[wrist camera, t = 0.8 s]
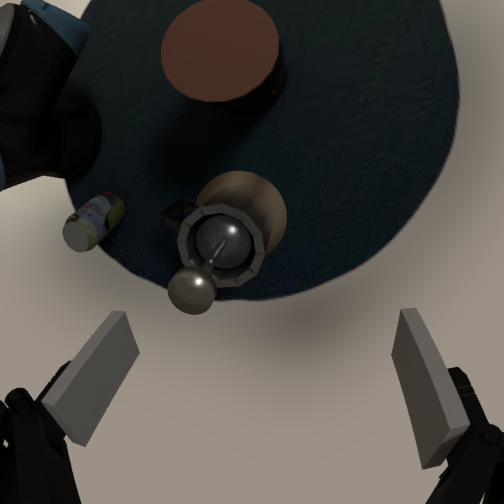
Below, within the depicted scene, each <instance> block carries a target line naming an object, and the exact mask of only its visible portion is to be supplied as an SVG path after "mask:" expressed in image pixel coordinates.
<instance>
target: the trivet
mask: <svg viewBox="0 0 504 504" xmlns="http://www.w3.org/2000/svg"><path fill="white" fill-rule="evenodd" d="M239 184H244V185H246V186H249V187H251V188H254V189H256V190H259V191H260V192H261V193H262V194H263V195H264V197H265V198H266V199H267V200H268V202H269V203H270V204H271V206H272V212H273V219H274V225H273V229H272V232H271V236H270V239H269V243H268V247H267V250H266V254H265V255H267V254H269V253H270V252H271V251H272V250H273V249H274V248H275V247H276V246H277V245H278V244H279V242H280V241H281V239H282V237H283V235H284V232H285V229H286V224H287V211H286V206H285V203H284V200H283V198H282V196H281V194H280V193H279V191H278V190H277V189H276V188H275V186H274V185H273V184H272V183H270V182H269V181H268V180H267V179H265V178H263V177H262V176H260V175H257V174H255V173H252V172H247V171H231V172H227V173H224V174H221V175H219V176H217V177H215V178H214V179H212V180H211V181H210V182H209V183H208V184H207V185H206V186H205V187H204V188H203V189H202V191H201V192H200V194H199V196H198V199H197V201H196V205H197V206H199V207H200V206H201V205H202V204H204V203H205V202H206V201H207V200H208V199H210V198H211V197H212V196H213V195H215V194H216V193H217V192H218V191H220V190H221V189H222V188H223V187H225V186H232V185H239Z"/></svg>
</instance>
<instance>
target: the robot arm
mask: <svg viewBox="0 0 504 504" xmlns="http://www.w3.org/2000/svg"><path fill="white" fill-rule="evenodd" d="M20 4H21V5H17V4H12V3H7V4H5V5H4V6H2V7H0V191H2V190H5V189H7V188H10V187H13V186H15V185H18V184H20V183H23V182H26V181H29V180H32V179H35V178H38V177H40V176H50V177H56V178H63V179H65V178H71V177H74V176H78V175H80V174H82V173H84V172H85V171H87V170H88V169H89V168H90V167H91V165H92V164H93V163H94V161H95V159H96V157H97V155H98V153H99V150H100V146H101V141H102V124H101V119H100V115H99V113H98V110H97V109H96V107H95V105H94V104H93V103H92V102H91V101H90V100H89V99H88V98H86V97H84V96H81V95H63V96H60V94H61V92H62V90H63V87H64V85H65V83H66V81H67V79H68V77H69V75H70V73H71V71H72V69H73V67H74V65H75V63H76V61H77V59H78V60H79V59H80V57H81V55H80V54H81V52H82V50H83V48H84V46H85V44H86V42H87V40H88V39H89V36H90V28H89V26H88V25H87V24H86V23H85V22H83V21H82V20H80V19H78V18H77V17H75V16H73V15H71V14H70V13H67V12H66V11H64V10H62V9H60V8H57V7H56V6H53V5H51V4H49V3H47V2H45V1H43V0H22V1H21V3H20ZM59 96H60V97H59ZM139 353H140V352H139V350H138V347H137V344H136V341H135V339H134V336H133V333H132V331H131V328H130V325H129V322H128V319H127V316H126V313H125V311H112V312H111V313H110V315H109V316H108V317H107V318H106V319H105V320H104V322H103V323H102V324H101V325H100V326H99V328H98V329H97V330H96V331H95V333H94V334H93V335H92V336H91V337H90V339H89V340H88V341H87V342H86V344H85V345H84V346H83V347H82V349H81V350H80V351H79V352H78V354H77V355H76V356H75V357H74V359H73V360H72V361H68V362H67V363H66V364H64V365H63V366H61V367H60V369H59V370H58V371H57V373H56V375H55V376H53V378H52V379H51V382H49V383H48V384H47V385H46V387H45V388H44V389H43V391H42V392H41V393H40V395H39V396H38V397H37V399H36V400H35V401H34V400H33V399H32V397H31V396H30V394H29V393H28V391H27V390H26V389H24V388H16V389H14V390H12V391H11V392H9V393H8V395H7V396H6V398H5V401H4V402H5V403H6V405H7V406H8V407H9V408H7V407H6V405H5V404H4V403H3V402H2V401H1V400H0V504H81V501H80V497H79V494H78V490H77V487H76V483H75V480H74V476H73V472H72V467H71V463H70V459H69V454H68V449H67V444H66V442H65V440H64V437H65V435H67V436H68V437H69V439H70V440H71V441H72V442H74V443H76V444H79V445H82V446H84V447H86V445H87V443H88V441H89V439H90V438H91V436H92V434H93V432H94V431H95V429H96V427H97V425H98V423H99V422H100V420H101V418H102V416H103V415H104V413H105V411H106V409H107V408H108V406H109V404H110V402H111V401H112V399H113V397H114V396H115V394H116V392H117V390H118V389H119V387H120V385H121V383H122V382H123V380H124V378H125V376H126V375H127V373H128V372H129V370H130V368H131V367H132V365H133V363H134V362H135V360H136V358H137V357H138V355H139ZM391 356H392V359H393V361H394V365H395V368H396V371H397V375H398V378H399V381H400V384H401V388H402V391H403V395H404V398H405V402H406V405H407V408H408V413H409V416H410V420H411V424H412V428H413V432H414V435H415V440H416V444H417V448H418V453H419V457H420V461H421V466H422V469H428V468H432V467H436V466H440V465H441V464H442V463H443V461H444V460H445V459H447V462H448V467H447V468H446V469H445V471H444V472H443V473H442V474H441V475H440V476H439V478H441V479H440V480H439V482H438V484H437V486H436V487H435V489H434V491H433V492H432V494H431V496H430V497H429V499H428V500H427V502H426V503H425V504H479V503H480V501H481V499H482V497H483V495H484V499H483V504H504V432H502V431H501V430H500V429H499V428H498V427H497V426H495V425H492V424H489V422H488V420H487V418H486V416H485V414H484V411H483V409H482V407H481V404H480V402H479V400H478V398H477V396H476V394H475V392H474V389H473V387H472V386H471V383H470V381H469V379H468V377H467V375H466V374H465V373H464V372H463V371H462V370H461V369H460V368H459V367H454V368H449V369H447V368H446V366H445V364H444V362H443V360H442V357H441V355H440V353H439V351H438V349H437V347H436V345H435V343H434V341H433V339H432V337H431V335H430V333H429V331H428V329H427V328H426V326H425V324H424V322H423V320H422V318H421V316H420V314H419V312H418V311H417V309H416V308H409V309H401V311H400V316H399V321H398V326H397V332H396V336H395V341H394V345H393V350H392V354H391ZM4 439H5V440H6V441H7V443H8V447H5V446H4V445H3V443H4ZM484 493H485V494H484Z"/></svg>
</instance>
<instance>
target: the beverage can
mask: <svg viewBox="0 0 504 504" xmlns="http://www.w3.org/2000/svg"><path fill="white" fill-rule="evenodd" d="M124 214H125V206H124V203H123V201H122V199H121V198H120V197H119V196H118V195H117V194H116V193H114V192H112V191H103V192H101V193H100V194H98V195H97V196H95V197H94V198H93V199H91V200H90V201H89V202H87V203H86V204H85V205H83V206H82V207H81V208H80V209H78V210H77V211H76V212H74V213H73V214H72V215H71V216H69V217H68V219H67V220H66V222H65V226H64V228H63V237H64V240H65V242H66V243H67V245H68V246H69V247H70V248H71V249H72V250H74V251H76V252H84V251H89V250H91V249H93V248H94V247H95V246H96V245H97V244H98V243H99V242H100V241H101V240H102V239H103V238H104V237H105V236H106V235H107V234H108V233H109V232H110V231H111V230H112V229H113V228H114V227H115V226H116V225H117V224H118V223H119V222H120V221H121V220H122V219H123V217H124Z"/></svg>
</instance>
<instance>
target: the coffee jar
mask: <svg viewBox="0 0 504 504" xmlns="http://www.w3.org/2000/svg"><path fill="white" fill-rule="evenodd" d="M161 62H162V66H163V69H164V72H165V75H166V77H167V78H168V80H169V81H170V82H171V84H172V85H173V86H174V88H175V89H177V90H178V91H180V92H181V93H183V94H184V95H186V96H187V97H189V98H192V99H196V100H200V101H203V102H207V103H211V104H214V105H218V106H222V107H226V108H229V109H233V110H236V111H240V112H255V111H259V110H262V109H265V108H267V107H268V106H270V105H271V104H273V103H275V102H276V101H277V99H278V98H279V97H280V96H281V94H282V93H283V91H284V88H285V86H286V83H287V68H286V64H285V59H284V55H283V51H282V46H281V43H280V40H279V35H278V33H277V30H276V27H275V25H274V22H273V20H272V19H271V18H270V17H269V16H268V15H267V13H266V12H265V11H264V10H263V9H262V8H260V7H259V6H257V5H255V4H253V3H251V2H249V1H247V0H204V1H201V2H199V3H196V4H194V5H192V6H191V7H189V8H188V9H186V10H185V11H184V12H182V13H181V14H180V15H178V17H177V18H176V19H175V20H174V22H173V23H172V24H171V25H170V27H169V28H168V30H167V32H166V35H165V37H164V40H163V43H162V50H161Z"/></svg>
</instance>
